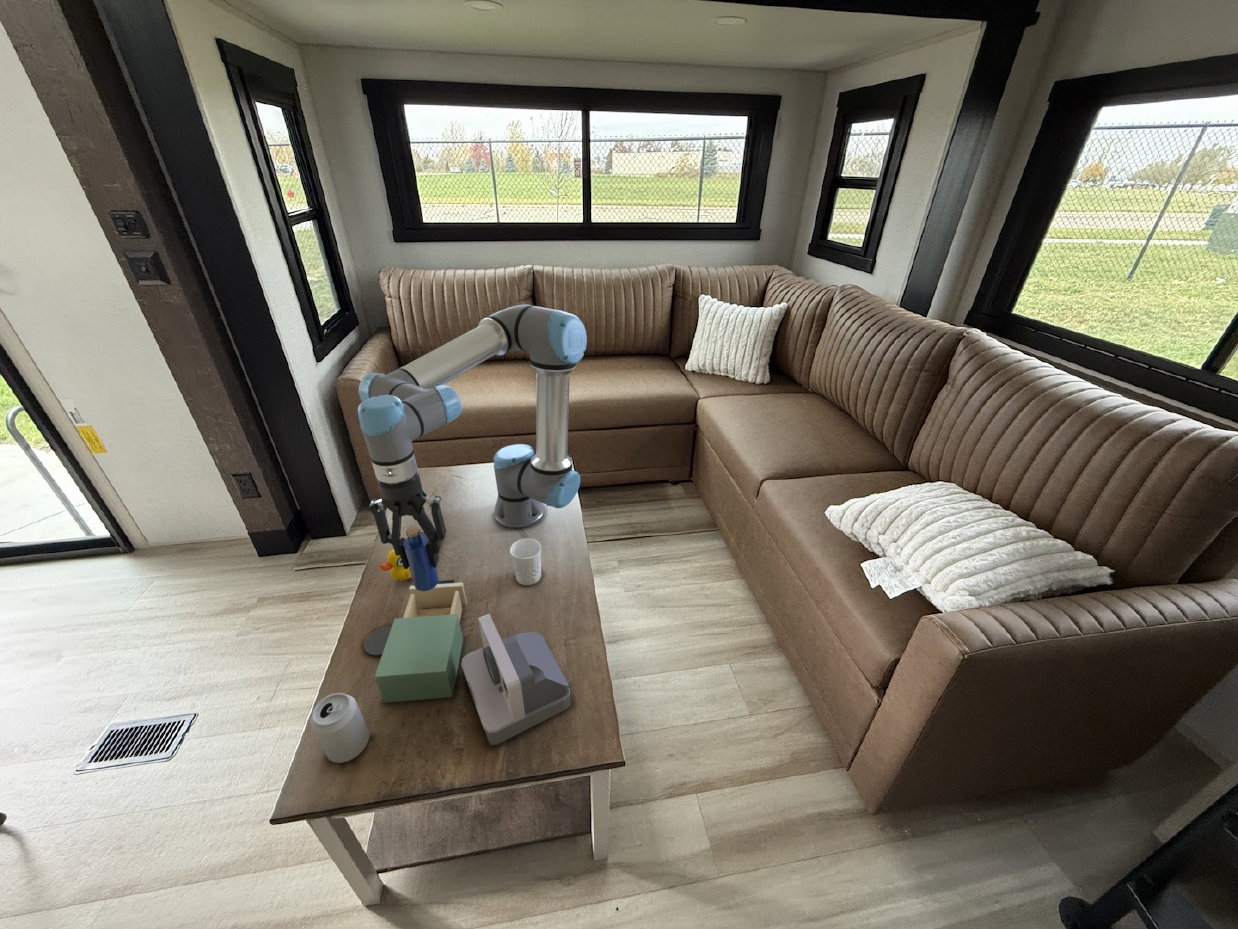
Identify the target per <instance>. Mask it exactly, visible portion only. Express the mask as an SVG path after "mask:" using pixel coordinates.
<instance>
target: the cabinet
mask: <svg viewBox="0 0 1238 929" xmlns="http://www.w3.org/2000/svg"><path fill="white" fill-rule="evenodd" d="M460 622H461V621H460ZM460 622H459V618H458V614H452V615H438V616H424V617H409V618H403V617H398V618H394V620H393V622H392V625H391V626H392V628H391V631H390V634H389V637H388V640H387V643H386V645H385V648H384V651H383V654H382V655H381V657H380V660H379V663H378V666H377V668H376V671H375V674H374V679H375V681H376V684H377V686H378V690H379V692H380V694H381V697H382V699H383V701H384V703H385V704H387V703H388V704H389V703H399V702H409V701H422V700H431V699H432V700H433V699H434V700H435V699H443V698H444V699H445V698H453V697H454V696H453V695H454V691H455V685H456V680H457V674H458V670H459V664H460V658H461V654H462V649H463V643H464V637H463V632H462V627H461V623H460Z"/></svg>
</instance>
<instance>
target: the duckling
mask: <svg viewBox="0 0 1238 929" xmlns="http://www.w3.org/2000/svg"><path fill="white" fill-rule="evenodd" d="M379 569H380V570H382V571H383V572H384V571H385V572H387V571H389V574H390V576H391V577H392V578H393V579H394V580H396V581H407V580H409V579H412V576H411V572H410V569H409V567H408V569H404V567H403V563H402V560H401V556H397V555H396V554H395V551H394V548H393V549H391V550H390V551H389V553H388V554H387V556H386V562H384V563H380V564H379Z"/></svg>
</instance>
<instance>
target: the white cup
mask: <svg viewBox="0 0 1238 929" xmlns="http://www.w3.org/2000/svg"><path fill="white" fill-rule="evenodd" d="M509 552H510V557H511V563H512V567H513V571H514V575H515V580H516V582H517V583H518V584H520V585H522V586H531V585H534V584H536V583H538V582H539V581H540V580H541V577H542V545H541V543H540V541H538V540H536V539H534V538H530V537H529V538H521V539H518V540H516V541H515V542H513V543H512V544H511V546H510V549H509Z"/></svg>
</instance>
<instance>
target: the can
mask: <svg viewBox="0 0 1238 929" xmlns="http://www.w3.org/2000/svg"><path fill="white" fill-rule="evenodd" d="M309 721H310V722H309V724H310V728H311V730H312V733H314V735H315V737H316V739H317V741H318V743H319V744H320V746H321V748H322V750H323V752H324V754H325V756H326V757H327V759H328V760H329V761H331V762H332V763H335V764H336V763H338V764H342V763H345V762H346V763H347V762H349V761H351V760H353V759H354V758H355V759H356V757H358V756H359V755H360V754H361V753H362V752H363V751H364V749H365V748H366V746H367V745H368V743H369V739H370V731H369V728H368V725H367V724H366V721H365V719H364V716H363V714H362V712H361V710H360V707H359V704H358V702H357V700H356V699H355V698H354V697H353V696H351V695H349V694H346V693H345V692H336V693H332V694H329V695H326V696H325V697H324V698H322V699H320V700H319V701H318V703H316V705H315V706H314V708H313V710H312V713H311V717H310V720H309Z"/></svg>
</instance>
